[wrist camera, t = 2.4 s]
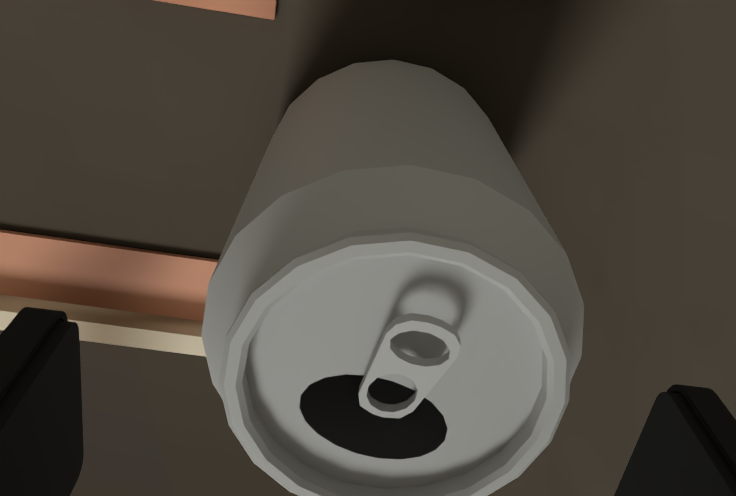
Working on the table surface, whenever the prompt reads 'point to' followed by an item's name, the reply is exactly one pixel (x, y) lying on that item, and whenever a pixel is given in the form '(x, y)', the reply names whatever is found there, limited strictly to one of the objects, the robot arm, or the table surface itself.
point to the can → (391, 297)
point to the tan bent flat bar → (115, 272)
